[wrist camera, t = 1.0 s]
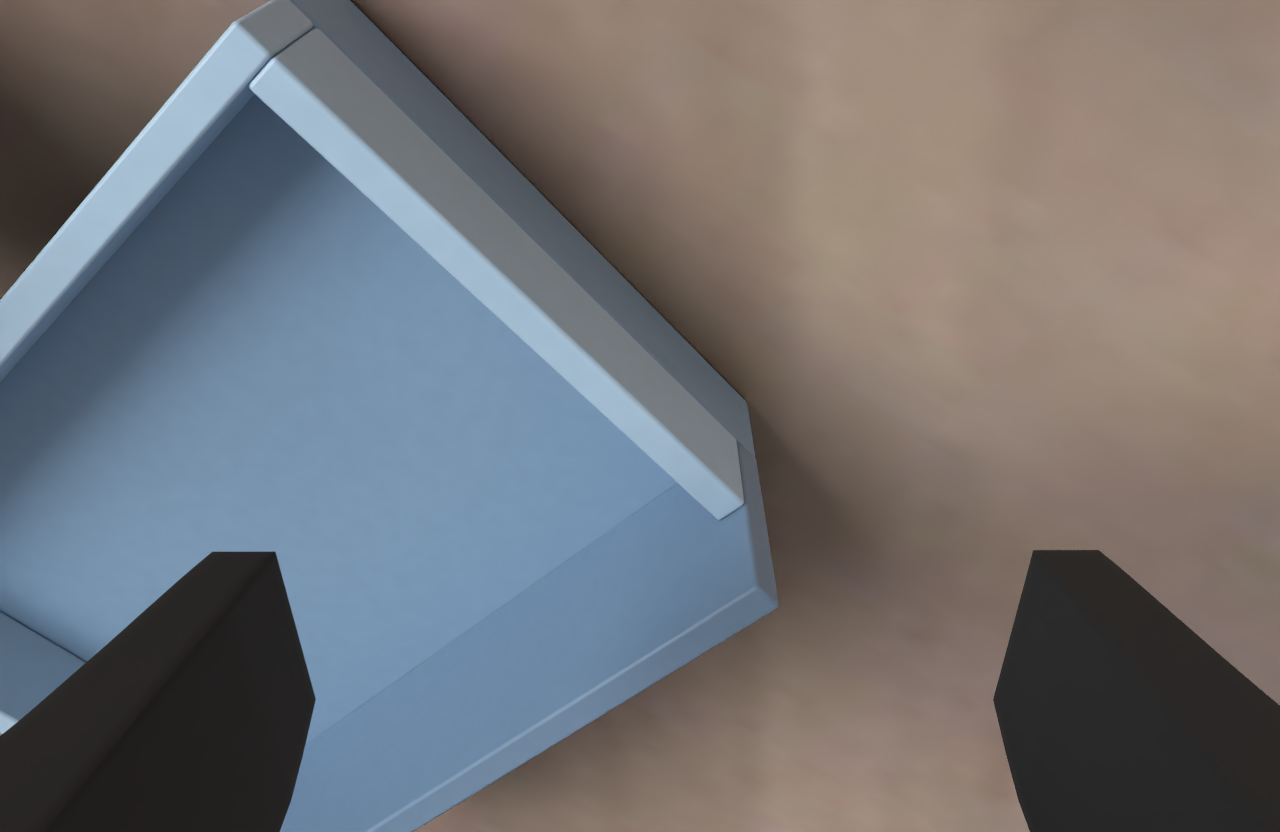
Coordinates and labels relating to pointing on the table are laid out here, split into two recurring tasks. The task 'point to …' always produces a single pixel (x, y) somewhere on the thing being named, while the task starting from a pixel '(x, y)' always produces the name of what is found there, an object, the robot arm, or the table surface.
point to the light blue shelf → (365, 425)
